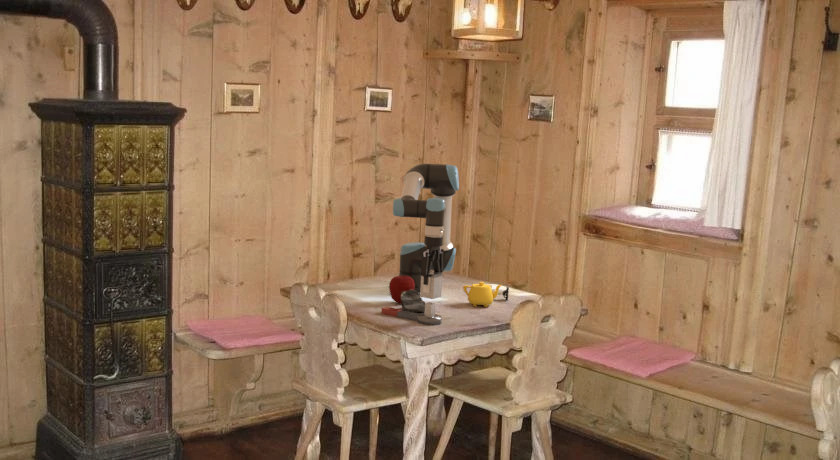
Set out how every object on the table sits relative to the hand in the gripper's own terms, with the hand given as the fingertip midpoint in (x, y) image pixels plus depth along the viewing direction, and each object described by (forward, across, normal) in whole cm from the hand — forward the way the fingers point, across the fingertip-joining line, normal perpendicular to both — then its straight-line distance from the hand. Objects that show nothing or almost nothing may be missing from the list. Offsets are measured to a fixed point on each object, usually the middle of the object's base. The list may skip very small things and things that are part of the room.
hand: (430, 290), depth 350 cm
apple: (+13, +21, +28) cm, 38 cm away
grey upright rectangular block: (+2, 0, 0) cm, 2 cm away
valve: (+13, +60, 0) cm, 61 cm away
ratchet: (+13, 0, +9) cm, 16 cm away
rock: (+14, +12, +16) cm, 24 cm away
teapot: (+13, +44, -1) cm, 46 cm away
